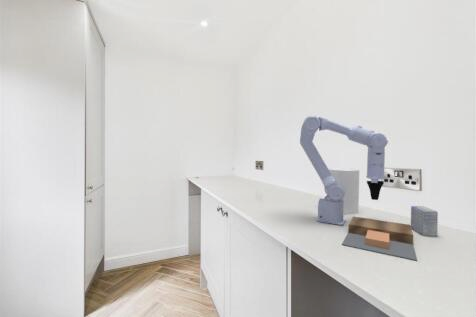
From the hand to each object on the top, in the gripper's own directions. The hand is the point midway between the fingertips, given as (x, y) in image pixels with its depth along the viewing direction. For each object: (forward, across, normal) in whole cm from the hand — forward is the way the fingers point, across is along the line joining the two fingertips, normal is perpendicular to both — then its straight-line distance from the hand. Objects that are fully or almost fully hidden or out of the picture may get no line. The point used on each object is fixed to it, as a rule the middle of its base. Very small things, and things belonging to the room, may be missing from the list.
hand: (374, 199), depth 89 cm
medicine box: (+10, 0, -15) cm, 18 cm away
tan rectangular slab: (+10, -21, -2) cm, 23 cm away
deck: (+10, -10, -2) cm, 14 cm away
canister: (+10, +17, +14) cm, 24 cm away
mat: (+10, -23, -2) cm, 25 cm away
